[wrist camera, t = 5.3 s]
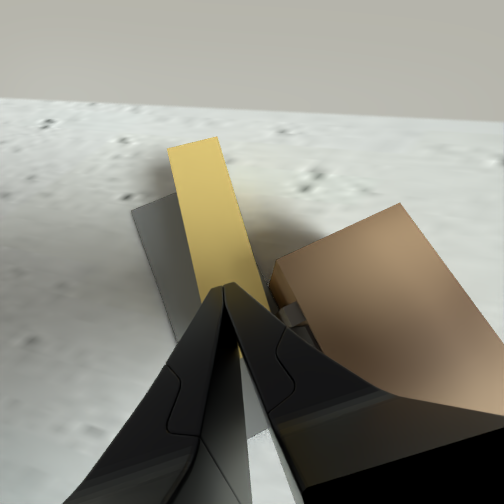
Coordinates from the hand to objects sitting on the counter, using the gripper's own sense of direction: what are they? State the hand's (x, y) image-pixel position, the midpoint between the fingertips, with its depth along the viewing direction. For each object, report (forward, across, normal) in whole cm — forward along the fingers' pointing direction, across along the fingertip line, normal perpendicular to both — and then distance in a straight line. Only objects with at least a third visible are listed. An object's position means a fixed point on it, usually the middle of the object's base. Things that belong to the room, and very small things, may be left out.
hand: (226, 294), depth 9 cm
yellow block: (+2, 0, +5) cm, 6 cm away
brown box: (+3, -6, +8) cm, 10 cm away
